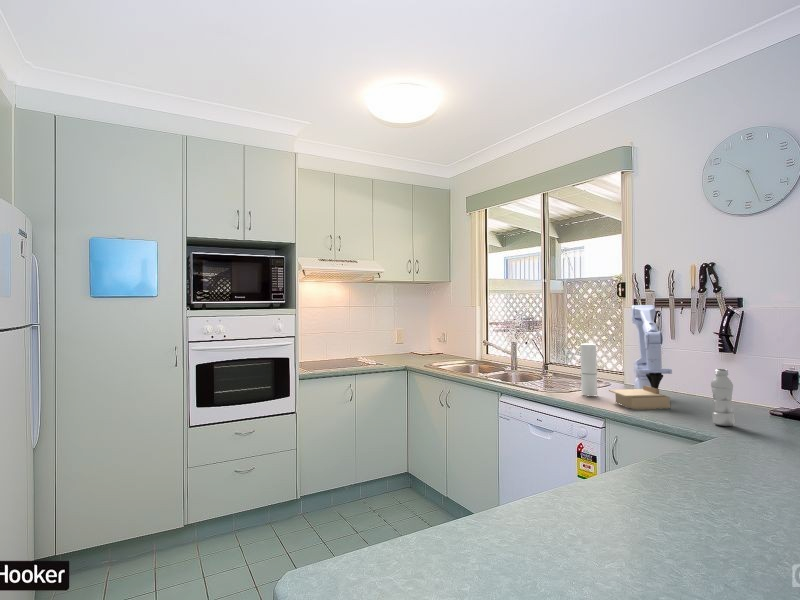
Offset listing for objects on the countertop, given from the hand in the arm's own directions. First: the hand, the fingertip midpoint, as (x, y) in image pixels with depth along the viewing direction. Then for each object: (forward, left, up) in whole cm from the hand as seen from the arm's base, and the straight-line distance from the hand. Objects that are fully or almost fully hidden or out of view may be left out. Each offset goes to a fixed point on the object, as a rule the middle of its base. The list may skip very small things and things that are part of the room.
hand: (654, 390), depth 198 cm
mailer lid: (0, -9, -1) cm, 9 cm away
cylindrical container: (-25, -18, -7) cm, 31 cm away
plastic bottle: (+35, +4, -7) cm, 36 cm away
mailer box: (0, -6, -6) cm, 9 cm away
